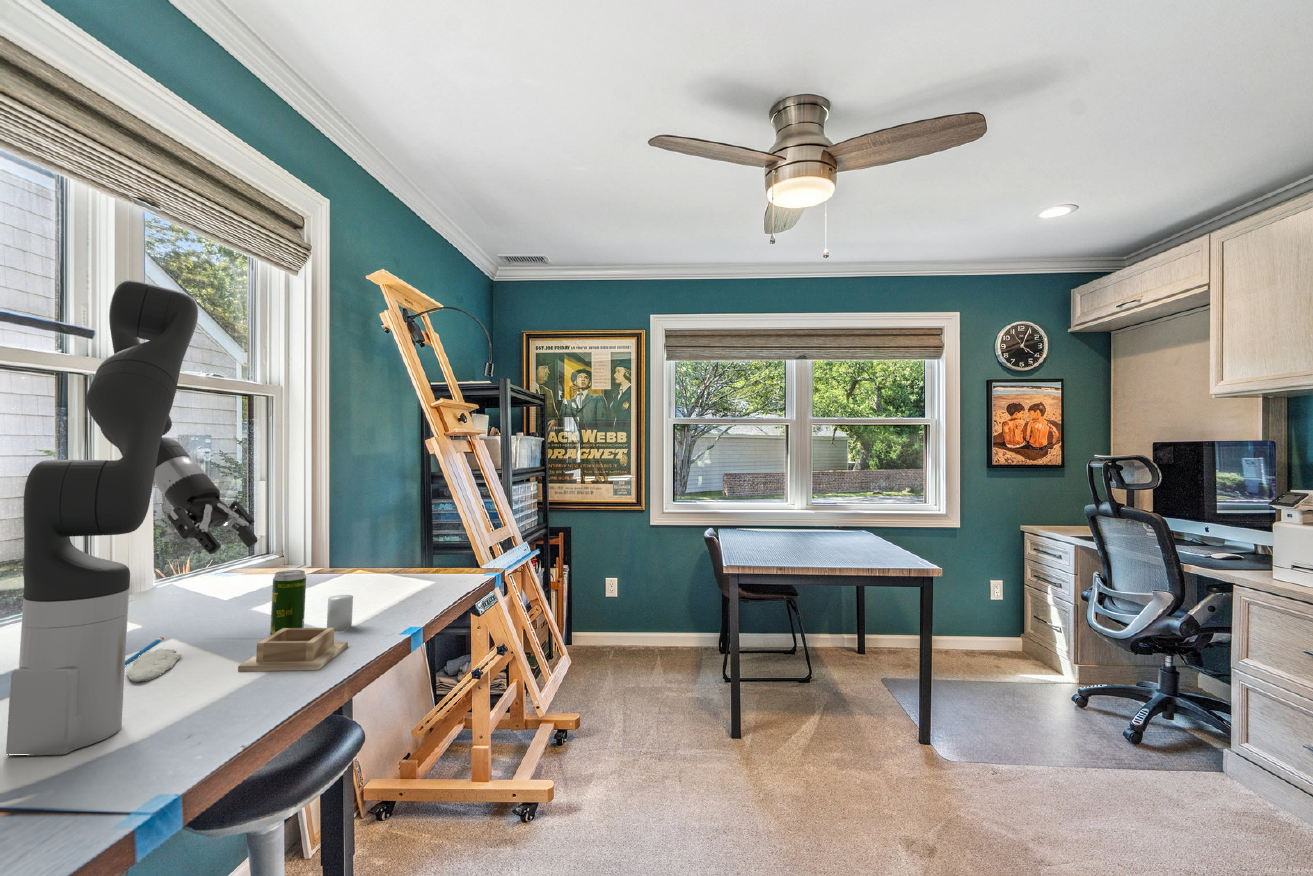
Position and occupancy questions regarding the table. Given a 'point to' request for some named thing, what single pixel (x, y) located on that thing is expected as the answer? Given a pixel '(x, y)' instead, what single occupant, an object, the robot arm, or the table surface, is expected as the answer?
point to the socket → (295, 650)
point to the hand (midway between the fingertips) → (235, 547)
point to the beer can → (288, 600)
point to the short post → (340, 612)
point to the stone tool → (152, 664)
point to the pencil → (144, 650)
